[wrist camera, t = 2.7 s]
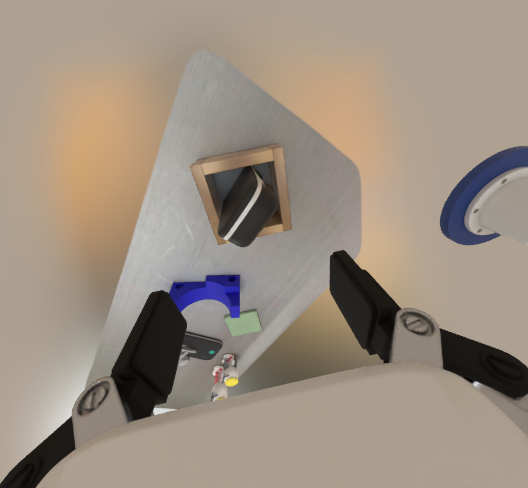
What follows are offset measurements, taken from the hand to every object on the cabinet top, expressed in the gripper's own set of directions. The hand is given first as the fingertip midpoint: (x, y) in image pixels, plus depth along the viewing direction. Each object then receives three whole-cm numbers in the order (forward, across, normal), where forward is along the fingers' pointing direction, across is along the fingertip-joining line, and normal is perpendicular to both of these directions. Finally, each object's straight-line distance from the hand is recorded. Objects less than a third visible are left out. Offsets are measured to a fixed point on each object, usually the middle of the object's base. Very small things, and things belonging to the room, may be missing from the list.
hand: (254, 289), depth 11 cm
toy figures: (+20, +16, +45) cm, 51 cm away
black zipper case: (+20, 0, 0) cm, 20 cm away
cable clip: (+20, +11, +16) cm, 28 cm away
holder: (+20, 0, 0) cm, 20 cm away
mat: (+20, +7, +29) cm, 36 cm away
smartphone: (+20, +21, +32) cm, 43 cm away
